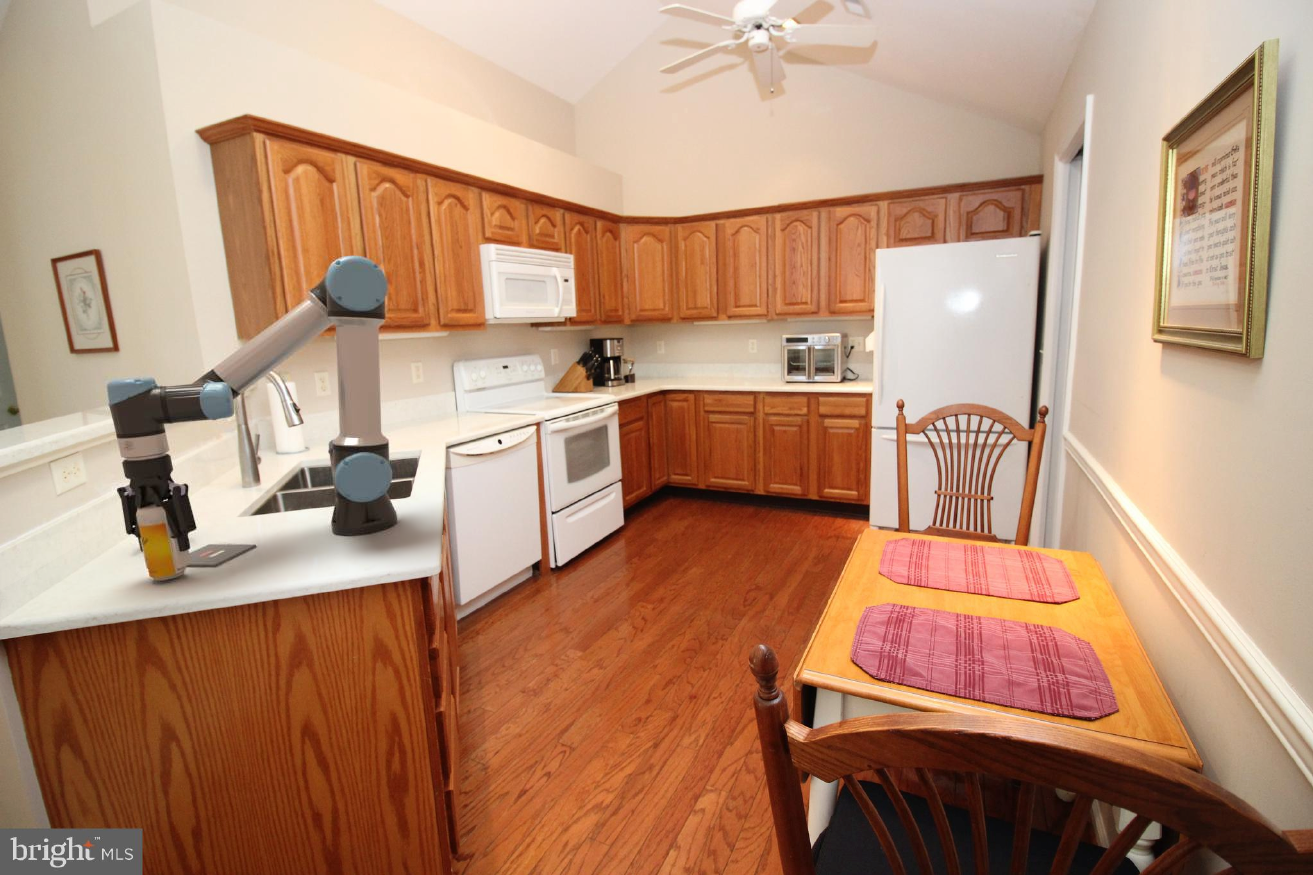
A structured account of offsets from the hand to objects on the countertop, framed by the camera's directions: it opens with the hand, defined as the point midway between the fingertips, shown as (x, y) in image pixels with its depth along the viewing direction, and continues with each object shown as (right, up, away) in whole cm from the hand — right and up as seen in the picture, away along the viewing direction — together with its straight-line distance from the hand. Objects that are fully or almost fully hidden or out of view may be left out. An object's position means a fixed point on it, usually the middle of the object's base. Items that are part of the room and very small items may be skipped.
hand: (169, 565), depth 126 cm
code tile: (0, 0, +12) cm, 12 cm away
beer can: (0, -2, 0) cm, 2 cm away
